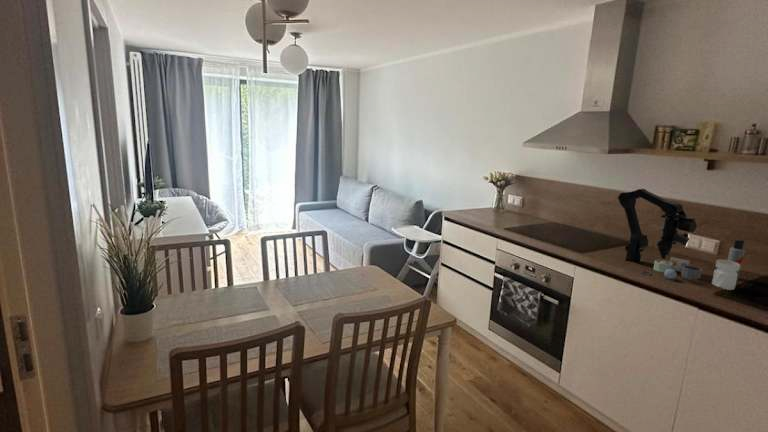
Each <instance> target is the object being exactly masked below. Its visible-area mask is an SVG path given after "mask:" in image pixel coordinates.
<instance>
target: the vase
mask: <svg viewBox="0 0 768 432" xmlns="http://www.w3.org/2000/svg"><path fill="white" fill-rule="evenodd" d="M715 267H716V268H715V269H714V270H713V275H712V280H711V284H712V285H713V286H716V287H717V288H721V289H722V290H725V289H726V290H727V291H732V290H735V288H736V286H737V280H738V279H737V275H738V274H737V273H736V271H738V270H739V268H740V264H739V263H737V262H733V261H729V260H728V259H716V260H715Z"/></svg>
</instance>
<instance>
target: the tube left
mask: <svg viewBox="0 0 768 432" xmlns="http://www.w3.org/2000/svg"><path fill="white" fill-rule="evenodd" d="M661 261H665V262H667V263H668V264H662V263H659V262H661ZM653 264H654V265H653V270H654V271H657V272H659V273H663V274H664V272H665V271H666V270H667V269H672V266H673V263H672V262H670V260H665V259H655V260H654V262H653Z"/></svg>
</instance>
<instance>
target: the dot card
mask: <svg viewBox="0 0 768 432" xmlns="http://www.w3.org/2000/svg"><path fill="white" fill-rule="evenodd" d="M669 261H670V262H672V263H673V266H672V269H673V270H675V271H676V272H679V273H681V272H682V267H683V265H690V260H687V259H684V258H683V259H682V258H676V257H673V256H670V259H669Z"/></svg>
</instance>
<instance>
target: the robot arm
mask: <svg viewBox="0 0 768 432" xmlns="http://www.w3.org/2000/svg"><path fill="white" fill-rule="evenodd" d="M640 198H641V199H643V200H645V201H647V202H649V203H650V204H653V205H655V206H657V207H659V208H660V210H661V211H662V212H664V213H663V214H662V215H660V218H663V219H664V223H663V228H662V230H661V231H662V234H661V237H660V239H659V240H658V241H657V243H656V246H657V249H658V251H659V254H660V256H661V260H665V259H666V256H668V255H669V254H670V251H671V250H672V249H673V247H674V245H676V244H677V243H680V244H681V245H683V246H686V245H687V244H688V242H689V241H690V237H689V234H688V233H692V234H693V233H694V232H695V231H696V230H697V222H696V218H694V217H692V218H691V217H688V216H687V214H686V212H685V211H684V206H683V204H681V203H679V202H677V201H671V200H668V199H665V198H663V197H661V196H659V195H656V194H654V193H653V192H651V191H649V190H647V189H645V188H639V189H635V190H632V191H628V192H627V191H626V192H621V193H620V194H618V198H617V200H618V202H619V204H620V205H621V207H622V208H623V209H624V211H625V216H626V218H627V219H626V220H627V223H628V227H629V231H630V238H629V243H628V244H627V245H625V246H624V250H625V251H626V257H625V259H624V261H626V262H630V263H634V264H635V263H636V264H639V263H641V262H642V259H643V258H642V256H643V253H642V252H643V251H644V250H645V249H647V248H648V246H649V239H648V235H647V234H644V233H642V230H641V227H640V222H639V218H638V215H637V211H636V205H637V204H636V203H637V200H638V199H640ZM679 231H683V232H685V233H679ZM686 232H687V233H686Z"/></svg>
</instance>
